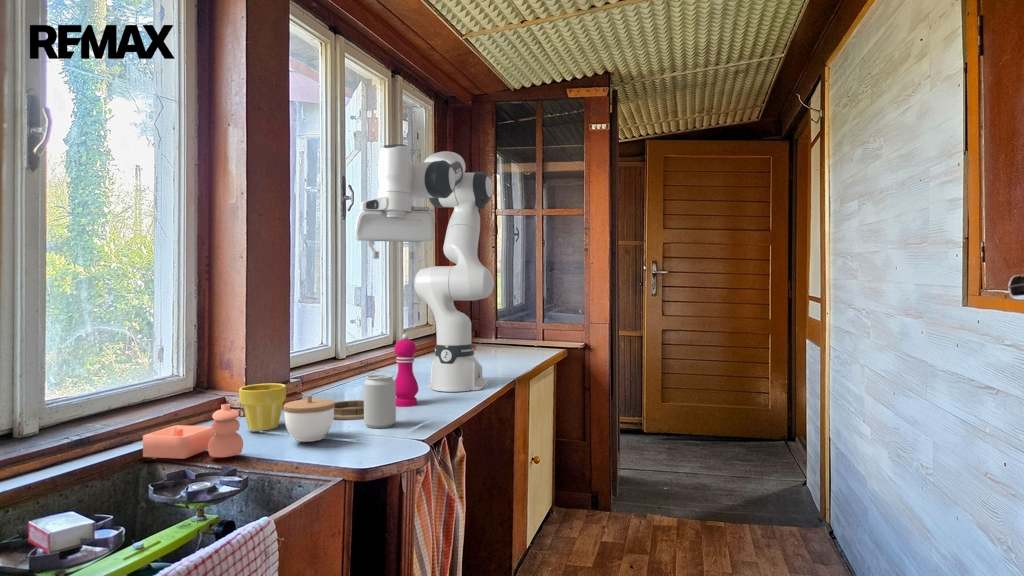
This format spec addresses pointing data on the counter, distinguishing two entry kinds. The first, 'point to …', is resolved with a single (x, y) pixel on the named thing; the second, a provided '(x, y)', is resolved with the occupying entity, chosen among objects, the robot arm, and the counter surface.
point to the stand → (349, 410)
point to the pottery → (197, 438)
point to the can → (379, 401)
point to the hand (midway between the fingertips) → (394, 258)
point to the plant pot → (262, 405)
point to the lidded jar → (309, 418)
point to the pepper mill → (405, 373)
